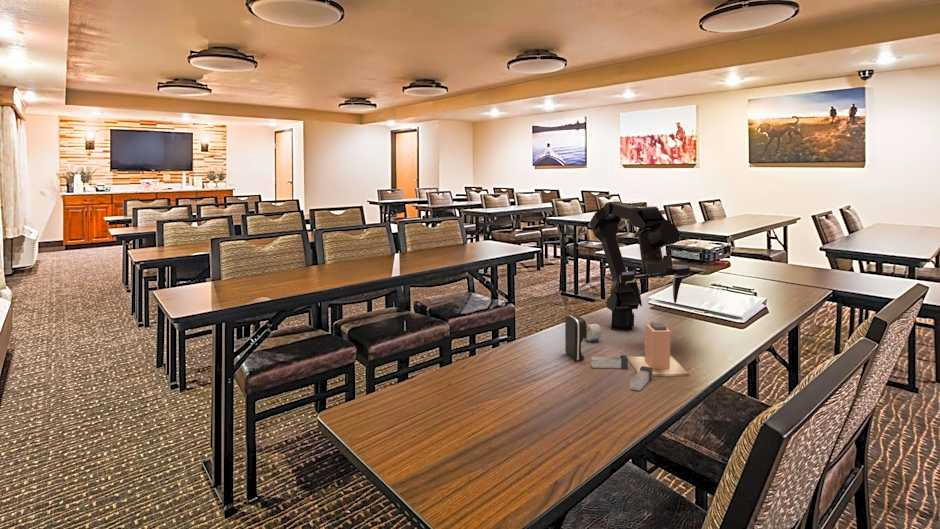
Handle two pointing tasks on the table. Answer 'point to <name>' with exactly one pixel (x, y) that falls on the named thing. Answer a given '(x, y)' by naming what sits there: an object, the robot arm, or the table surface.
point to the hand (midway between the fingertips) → (658, 304)
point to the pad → (673, 370)
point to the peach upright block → (657, 346)
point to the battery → (574, 336)
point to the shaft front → (641, 378)
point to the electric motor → (593, 332)
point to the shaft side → (610, 362)
